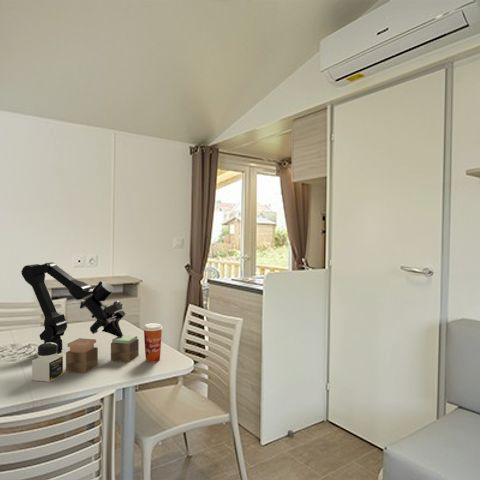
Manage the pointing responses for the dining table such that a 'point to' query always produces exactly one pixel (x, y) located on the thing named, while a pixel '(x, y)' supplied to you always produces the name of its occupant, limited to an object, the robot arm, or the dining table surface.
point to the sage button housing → (124, 351)
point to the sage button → (124, 339)
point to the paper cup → (152, 341)
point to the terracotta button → (81, 345)
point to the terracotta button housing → (81, 361)
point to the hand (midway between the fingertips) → (121, 336)
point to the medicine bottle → (47, 363)
